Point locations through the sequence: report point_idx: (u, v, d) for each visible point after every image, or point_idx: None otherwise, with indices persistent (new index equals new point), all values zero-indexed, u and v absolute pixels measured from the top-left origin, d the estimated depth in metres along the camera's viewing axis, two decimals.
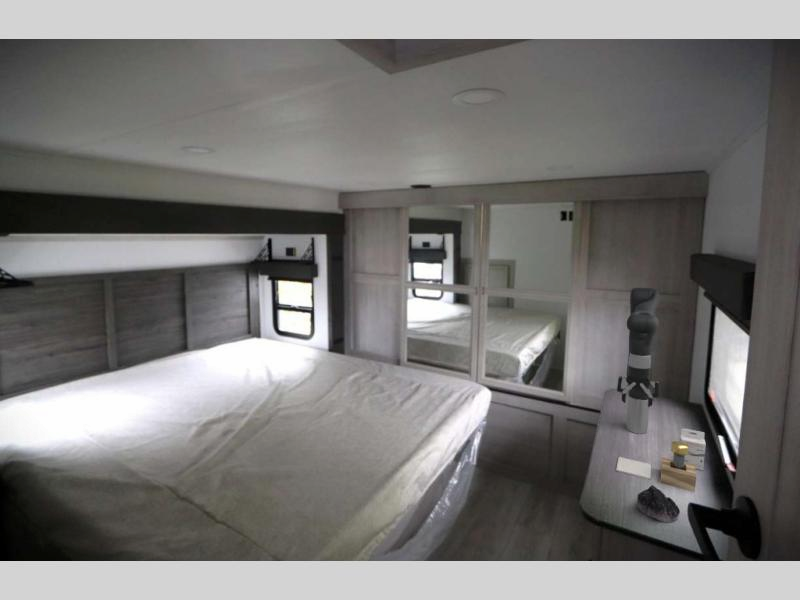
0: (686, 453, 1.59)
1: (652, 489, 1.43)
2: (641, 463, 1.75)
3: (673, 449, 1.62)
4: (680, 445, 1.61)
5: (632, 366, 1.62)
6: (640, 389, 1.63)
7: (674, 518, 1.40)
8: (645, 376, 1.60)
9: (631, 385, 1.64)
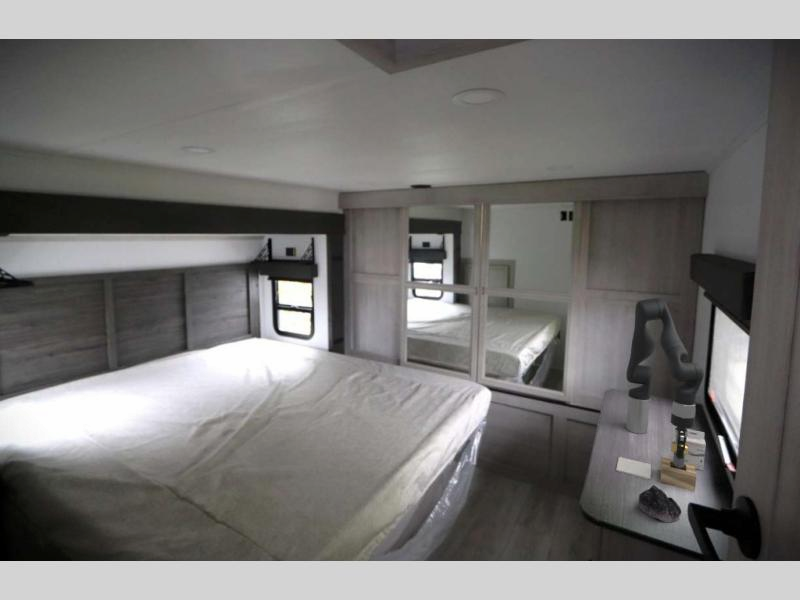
0: (686, 453, 1.59)
1: (654, 489, 1.43)
2: (641, 463, 1.75)
3: (673, 449, 1.62)
4: (680, 445, 1.61)
5: (692, 417, 1.56)
6: None
7: (676, 518, 1.40)
8: None
9: (686, 436, 1.59)
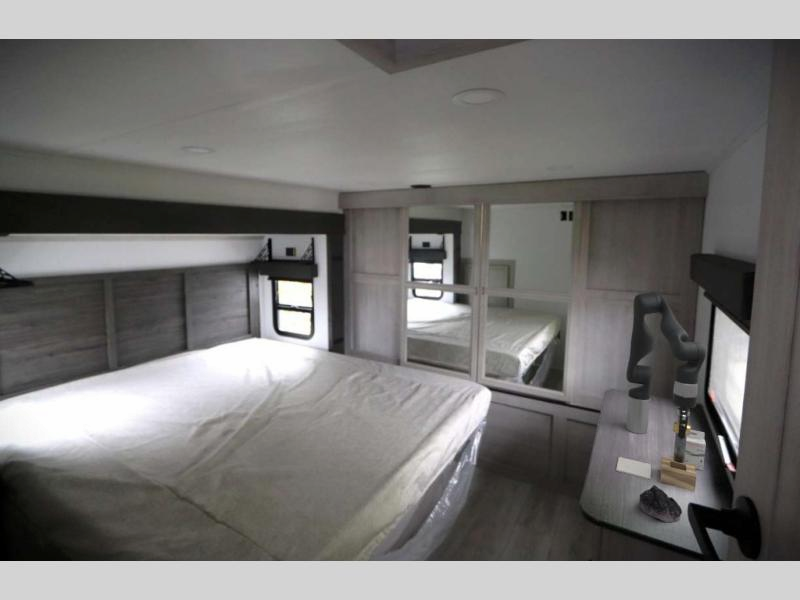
0: (688, 433, 1.58)
1: (654, 489, 1.43)
2: (641, 463, 1.75)
3: (675, 429, 1.60)
4: (682, 425, 1.60)
5: (694, 396, 1.55)
6: None
7: (676, 518, 1.40)
8: None
9: (688, 416, 1.57)
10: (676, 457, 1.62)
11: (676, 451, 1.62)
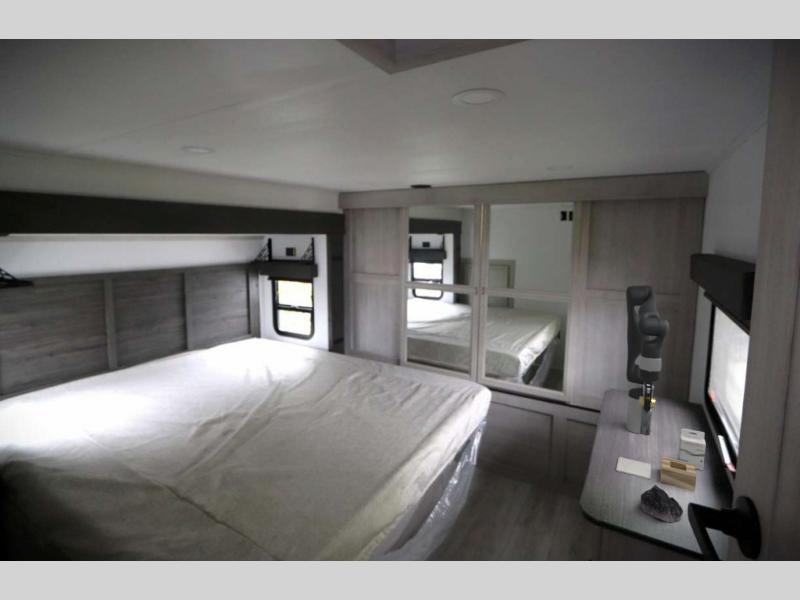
0: (653, 406, 1.64)
1: (655, 489, 1.43)
2: (641, 463, 1.75)
3: (641, 403, 1.66)
4: (648, 398, 1.66)
5: (658, 370, 1.61)
6: None
7: (677, 518, 1.40)
8: None
9: None
10: (642, 429, 1.68)
11: (642, 424, 1.68)
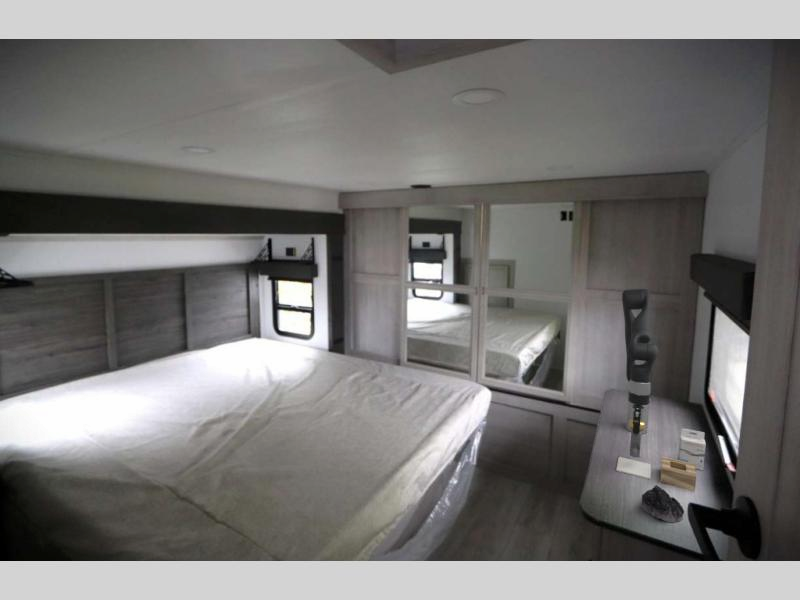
0: (642, 429, 1.67)
1: (657, 489, 1.43)
2: (641, 463, 1.75)
3: (630, 425, 1.70)
4: (637, 421, 1.69)
5: (647, 394, 1.65)
6: None
7: (679, 518, 1.40)
8: None
9: (642, 413, 1.67)
10: (631, 452, 1.71)
11: (631, 446, 1.71)
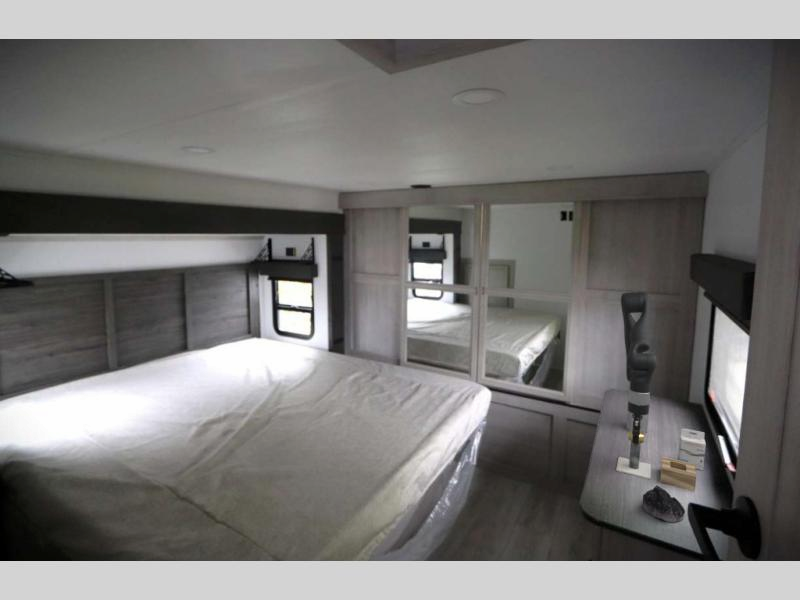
0: (641, 441, 1.68)
1: (657, 489, 1.43)
2: (641, 463, 1.75)
3: (630, 437, 1.70)
4: None
5: (646, 404, 1.65)
6: None
7: (680, 518, 1.40)
8: None
9: (642, 423, 1.67)
10: (631, 463, 1.72)
11: (631, 457, 1.71)
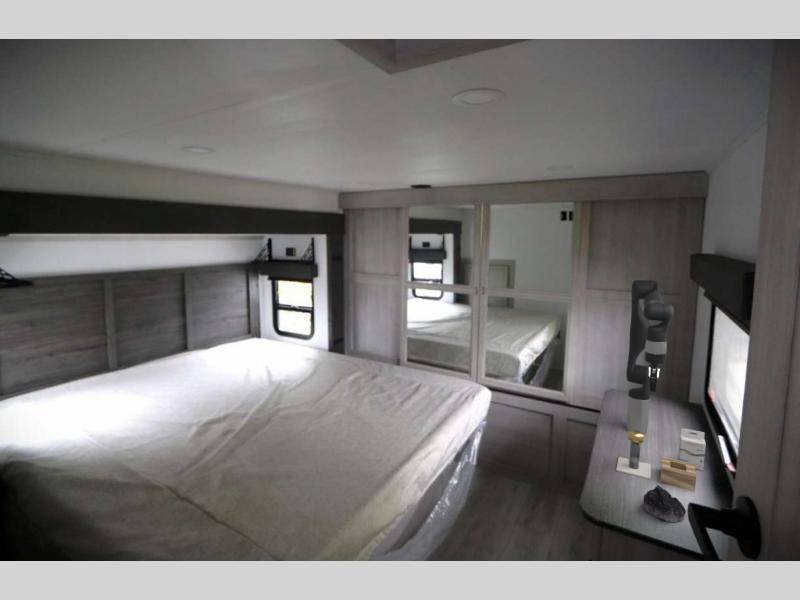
0: (641, 441, 1.68)
1: (658, 489, 1.43)
2: (641, 463, 1.75)
3: (629, 437, 1.70)
4: (636, 433, 1.70)
5: (663, 353, 1.68)
6: None
7: (681, 518, 1.40)
8: None
9: None
10: (631, 463, 1.72)
11: (631, 457, 1.71)
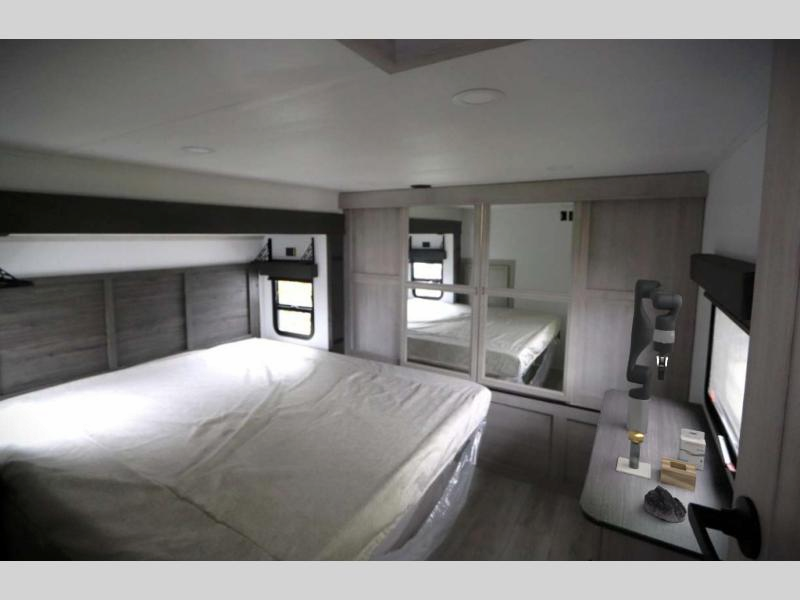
0: (641, 441, 1.68)
1: (659, 489, 1.43)
2: (641, 463, 1.75)
3: (629, 437, 1.70)
4: (636, 433, 1.70)
5: (672, 342, 1.72)
6: None
7: (681, 518, 1.40)
8: None
9: (667, 360, 1.73)
10: (631, 463, 1.72)
11: (631, 457, 1.71)
